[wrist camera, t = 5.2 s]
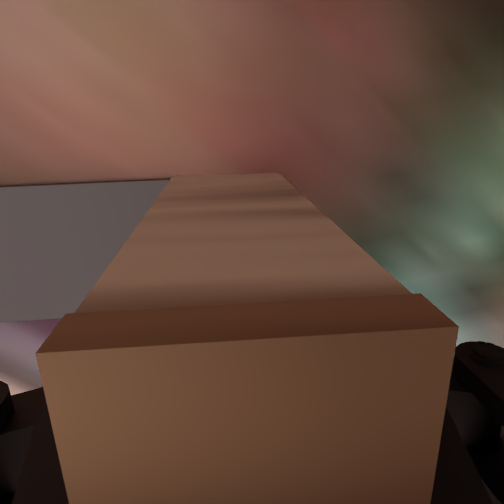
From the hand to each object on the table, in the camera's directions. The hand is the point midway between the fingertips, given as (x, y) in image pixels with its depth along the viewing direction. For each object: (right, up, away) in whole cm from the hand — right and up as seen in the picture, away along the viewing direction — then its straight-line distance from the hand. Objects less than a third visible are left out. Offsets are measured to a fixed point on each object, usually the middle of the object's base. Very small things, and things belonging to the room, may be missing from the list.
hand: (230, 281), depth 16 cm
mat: (-14, +1, +14) cm, 20 cm away
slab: (0, 0, +1) cm, 1 cm away
